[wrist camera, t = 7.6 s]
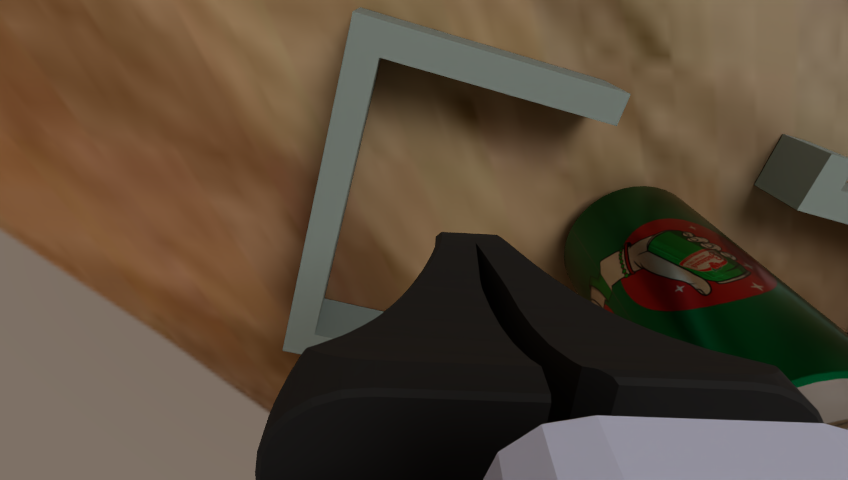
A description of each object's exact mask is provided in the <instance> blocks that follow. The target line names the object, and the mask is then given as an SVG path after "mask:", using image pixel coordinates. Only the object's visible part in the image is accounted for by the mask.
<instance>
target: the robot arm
mask: <svg viewBox="0 0 848 480" xmlns="http://www.w3.org/2000/svg"><path fill="white" fill-rule="evenodd" d="M255 476H256V480H848V430H846V429H842V428H839V427H835V426H832V425H828V424H824V422H823V420H822V418H821V416H820V413H819V411H818V410H817V409H816V408H815V407H814V405H813V404H812V403H811V402H810V401H809V400H808V399H807V398H806V397H805V396H804V395H803V394H802V393H801V392H800V391H799V389H798V388H797V387H796V386H795V385H794V384H793V383H792V382H791V381H790V380H789V379H788V378H787V377H786V376H785V375H784V374H783V372H782V371H781V370H780V369H779V368H778V367H777V366H774V365H770V364H766V363H762V362H758V361H754V360H750V359H746V358H741V357H737V356H733V355H729V354H725V353H721V352H717V351H713V350H710V349H706V348H703V347H700V346H697V345H694V344H690V343H687V342H684V341H681V340H678V339H675V338H672V337H669V336H666V335H664V334H661V333H658V332H655V331H653V330H650V329H648V328H645V327H643V326H641V325H638V324H636V323H634V322H631V321H629V320H626V319H624V318H622V317H620V316H618V315H616V314H613V313H611V312H609V311H607V310H605V309H604V308H602V307H600V306H598V305H596V304H594V303H592V302H591V301H589V300H587V299H585V298H583V297H582V296H580V295H578V294H577V293H575V292H573V291H572V290H570V289H569V288H567V287H566V286H564V285H563V284H561V283H560V282H558V281H557V280H555V279H554V278H552V277H551V276H550V275H548V274H547V273H545V272H544V271H543V270H541V269H540V268H539V267H537V266H536V265H535V264H534V263H532V262H531V261H530V260H528V259H527V258H526V257H525V256H524V255H522V254H521V253H520V252H519V251H517V250H516V249H515V248H514V247H512V246H511V245H510V244H509V243H508V242H506V241H505V240H504V239H502V238H501V237H499V236H498V235H488V234H468V233H448V232H441V233H440V234H439V235H437V236H436V242H435V248H434V250H433V253H432V255H431V257H430V258H429V260H428V262H427V264H426V266H425V267H424V269H423V270H422V272H421V273H420V274H419V276H418V277H417V279H416V280H415V281H414V283H413V284H412V285H411V286H410V288H409V289H408V290H407V291H406V292H405V293H404V294H403V295H402V296H401V297H400V298H399V299H398V300H397V301H396V302H395V303H394V304H393V305H392V306H391V307H389V308H388V309H387V310H386V311H384V312H383V313H382V314H381V315H379V316H378V317H376V318H375V319H373V320H371V321H370V322H368V323H366V324H365V325H363V326H361V327H359V328H357V329H355V330H353V331H351V332H349V333H346V334H344V335H342V336H339V337H336V338H334V339H331V340H328V341H325V342H323V343H320V344H317V345H314V346H311V347H307V348H306V349H305V350H304V351H303V353H302V354H301V356H300V357H299V359H298V361H297V362H296V364H295V366H294V367H293V369H292V370H291V372H290V374H289V376H288V377H287V379H286V381H285V383H284V385H283V387H282V389H281V391H280V393H279V395H278V397H277V399H276V401H275V403H274V405H273V407H272V410H271V412H270V414H269V417H268V420H267V424H266V426H265V430H264V432H263V436H262V439H261V442H260V445H259V448H258V451H257V460H256V471H255Z"/></svg>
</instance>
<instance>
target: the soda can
mask: <svg viewBox="0 0 848 480" xmlns="http://www.w3.org/2000/svg"><path fill="white" fill-rule="evenodd" d="M564 261H565V268H566V271H567V274H568V276H569V278H570V280H571V282H572V284H573V286H574V288H575V290H576V292H577V293H578V295H580V296H582V297H583V298H585V299H587V300H589V301H591V302H592V303H594V304H596V305H598V306H600V307H602V308H604V309H605V310H607V311H609V312H611V313H613V314H616V315H618V316H620V317H622V318H624V319H626V320H629V321H631V322H634V323H636V324H638V325H641V326H643V327H645V328H648V329H650V330H653V331H655V332H658V333H661V334H664V335H666V336H669V337H672V338H675V339H678V340H681V341H684V342H687V343H690V344H694V345H697V346H700V347H703V348H706V349H710V350H713V351H717V352H721V353H725V354H729V355H733V356H737V357H741V358H746V359H750V360H754V361H758V362H762V363H766V364H770V365H774V366H777V367H778V368H779V369H780V370H781V371H782V372H783V374H784V375H785V376H786V377H787V378H788V379H789V380H790V381H791V382H792V383H793V384H794V385H795V386H796V387H797V388H798V389H799V391H800V392H801V393H802V394H803V395H804V396H805V397H806V398H807V399H808V400H809V401H810V402H811V403H812V404H813V405H814V407H815V408H816V409H817V410H818V411H819V413H820V416H821V418H822V420H823V422H824V424H828V425H832V426H835V427H839V428H842V429H846V430H848V334H847V333H846V332H844V331H843V330H842V329H841V328H839V327H838V326H837V325H836V324H834V323H833V322H832V321H831V320H830V319H828V318H827V317H826V316H825V315H823V314H822V313H821V312H820V311H818V310H817V309H816V308H815V307H813V306H812V305H811V304H810V303H809V302H807V301H806V300H805V299H804V298H802V297H801V296H800V295H799V294H797V293H796V292H795V291H794V290H792V289H791V288H790V287H789V286H788V285H786V284H785V283H784V282H783V281H781V280H780V279H779V278H778V277H776V276H775V275H774V274H773V273H771V272H770V271H769V270H768V269H767V268H765V267H764V266H763V265H762V264H760V263H759V262H758V261H757V260H755V259H754V258H753V257H752V256H750V255H749V254H748V253H747V252H746V251H744V250H743V249H742V248H741V247H739V246H738V245H737V244H736V243H734V242H733V241H732V240H731V239H729V238H728V237H727V236H726V235H725V234H723V233H722V232H721V231H720V230H718V229H717V228H716V227H715V226H713V225H712V224H711V223H710V222H708V221H707V220H706V219H705V218H704V217H702V216H701V215H700V214H699V213H697V212H696V211H695V210H694V209H692V208H691V207H690V206H689V205H687V204H686V203H685V202H684V201H683V200H681V199H680V198H678V197H677V196H676V195H674V194H672V193H670V192H668V191H666V190H663V189H659V188H655V187H647V186H640V187H630V188H624V189H621V190H618V191H615V192H612V193H610V194H608V195H606V196H604V197H602V198H600V199H599V200H597V201H596V202H594V203H593V204H592V205H590V206H589V207H588V208H587V209H586V210H585V211H584V212H583V213H582V214H581V215H580V216H579V218H578V219H577V220H576V222H575V223H574V225H573V226H572V228H571V230H570V232H569V235H568V237H567V241H566V244H565V251H564Z"/></svg>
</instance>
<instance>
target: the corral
mask: <svg viewBox="0 0 848 480" xmlns="http://www.w3.org/2000/svg"><path fill="white" fill-rule="evenodd" d="M381 58H383V59H386V60H390V61H393V62H396V63H400V64H403V65H407V66H410V67H414V68H417V69H421V70H424V71H428V72H431V73H435V74H438V75H442V76H445V77H449V78H452V79H455V80H459V81H462V82H466V83H469V84H473V85H476V86H480V87H483V88H487V89H490V90H494V91H497V92H501V93H504V94H508V95H511V96H515V97H518V98H521V99H525V100H528V101H532V102H535V103H539V104H542V105H546V106H549V107H553V108H556V109H560V110H563V111H567V112H570V113H574V114H577V115H580V116H584V117H587V118H591V119H594V120H598V121H601V122H605V123H608V124H612V125H615V126H617V124H618V122H619V120H620V117H621V115H622V113H623V111H624V108H625V106H626V104H627V101H628V99H629V97H630V93H628V92H626V91H624V90H622V89H620V88H618V87H616V86H614V85H612V84H610V83H608V82H606V81H604V80H601V79H598V78H595V77H591V76H588V75H585V74H581V73H578V72H575V71H571V70H568V69H565V68H561V67H558V66H554V65H551V64H548V63H544V62H541V61H538V60H534V59H531V58H528V57H524V56H521V55H518V54H514V53H511V52H508V51H504V50H501V49H498V48H494V47H491V46H488V45H484V44H481V43H478V42H474V41H471V40H468V39H464V38H461V37H458V36H454V35H451V34H448V33H444V32H441V31H438V30H434V29H431V28H427V27H424V26H421V25H417V24H414V23H411V22H407V21H404V20H401V19H397V18H394V17H391V16H387V15H384V14H381V13H377V12H374V11H371V10H367V9H364V8H361V7H360V8H358V9H356V10H354V11H353V13H352V18H351V23H350V28H349V32H348V37H347V42H346V47H345V52H344V56H343V61H342V66H341V71H340V76H339V81H338V85H337V90H336V95H335V100H334V105H333V109H332V114H331V119H330V124H329V129H328V134H327V138H326V143H325V148H324V153H323V158H322V163H321V167H320V172H319V177H318V182H317V187H316V191H315V196H314V201H313V206H312V211H311V216H310V220H309V225H308V230H307V235H306V240H305V244H304V249H303V254H302V259H301V264H300V269H299V273H298V278H297V283H296V288H295V293H294V298H293V302H292V307H291V312H290V317H289V322H288V326H287V331H286V336H285V341H284V346H283V351H287V352H292V353H297V354H302V353H303V351H304V350H305V349H306V348H307V347H311V346H314V345H317V344H320V343H323V342H325V341H328V340H331V339H334V338H336V337H339V336H342V335H344V334H346V333H349V332H351V331H353V330H355V329H357V328H359V327H361V326H363V325H365V324H366V323H368V322H370V321H371V320H373V319H375V318H376V317H378V316H379V315H381V314H382V313H383V311H378V310H374V309H369V308H365V307H360V306H356V305H352V304H347V303H343V302H338V301H334V300H329V299H325V293H326V289H327V285H328V281H329V277H330V272H331V268H332V264H333V260H334V255H335V251H336V247H337V243H338V238H339V234H340V230H341V226H342V221H343V217H344V213H345V209H346V204H347V200H348V196H349V192H350V187H351V183H352V179H353V175H354V170H355V166H356V162H357V158H358V153H359V149H360V145H361V141H362V136H363V132H364V128H365V124H366V119H367V115H368V111H369V107H370V103H371V98H372V94H373V90H374V86H375V81H376V77H377V73H378V69H379V64H380V60H381ZM847 180H848V157H845V156H843V155H840V154H838V153H835V152H833V151H830V150H828V149H825V148H823V147H821V146H818V145H816V144H813V143H811V142H808V141H805V140H802V139H798V138H795V137H792V136H788V135H785V134H783V135H782V137H781V139H780V140H779V142H778V144H777V146H776V147H775V149H774V151H773V153H772V154H771V156H770V158H769V160H768V161H767V163H766V165H765V167H764V169H763V170H762V172H761V174H760V176H759V177H758V179H757V181H756V183H755V184H754V185H755V186H757V187H759V188H760V189H762V190H764V191H765V192H767V193H769V194H770V195H772V196H774V197H776V198H777V199H779V200H781V201H782V202H784V203H786V204H787V205H789V206H791V207H792V208H794V209H796V210H798V211H801V212H805V213H809V214H812V215H816V216H819V217H823V218H827V219H830V220H834V221H837V222H841V223H844V224H848V183H846V181H847Z"/></svg>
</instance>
